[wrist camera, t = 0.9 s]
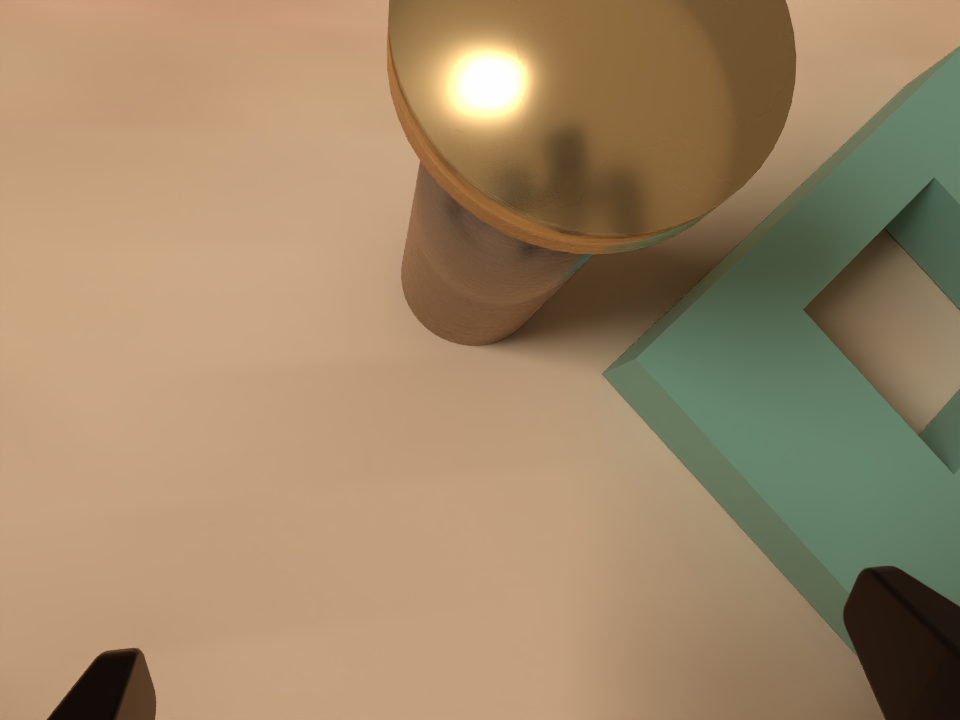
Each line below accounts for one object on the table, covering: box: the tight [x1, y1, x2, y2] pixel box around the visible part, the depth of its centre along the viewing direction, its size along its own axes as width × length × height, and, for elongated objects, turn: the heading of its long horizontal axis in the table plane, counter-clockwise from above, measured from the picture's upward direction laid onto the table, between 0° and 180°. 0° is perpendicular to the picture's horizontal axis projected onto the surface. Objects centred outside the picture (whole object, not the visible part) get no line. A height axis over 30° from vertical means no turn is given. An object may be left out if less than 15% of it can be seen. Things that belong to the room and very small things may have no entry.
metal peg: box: [387, 0, 796, 345], centre depth 17 cm, size 6×6×13 cm
